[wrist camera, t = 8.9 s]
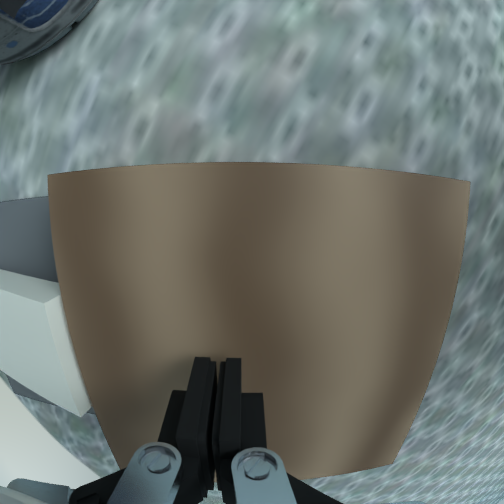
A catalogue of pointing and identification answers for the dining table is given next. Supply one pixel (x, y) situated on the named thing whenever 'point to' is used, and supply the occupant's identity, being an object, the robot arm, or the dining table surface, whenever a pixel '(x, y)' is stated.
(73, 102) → the dining table surface
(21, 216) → the mat
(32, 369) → the pale grey flat tile
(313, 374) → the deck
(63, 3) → the beverage bottle
